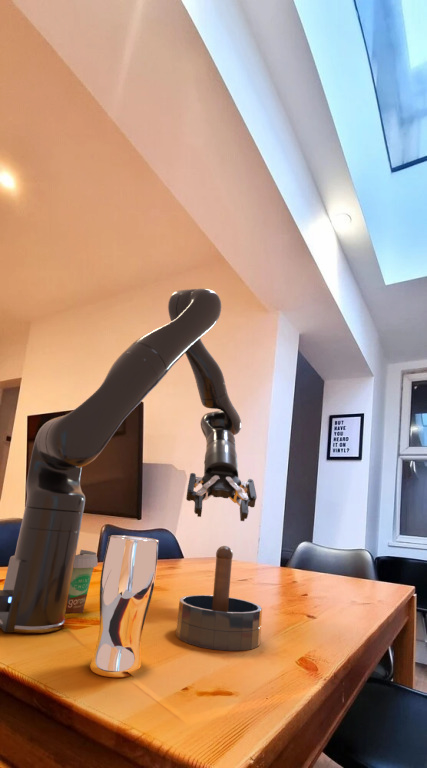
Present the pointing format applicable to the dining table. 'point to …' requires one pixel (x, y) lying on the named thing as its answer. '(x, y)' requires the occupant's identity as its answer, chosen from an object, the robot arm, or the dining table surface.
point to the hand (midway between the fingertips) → (221, 515)
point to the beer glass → (124, 603)
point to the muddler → (222, 579)
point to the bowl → (219, 624)
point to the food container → (80, 581)
